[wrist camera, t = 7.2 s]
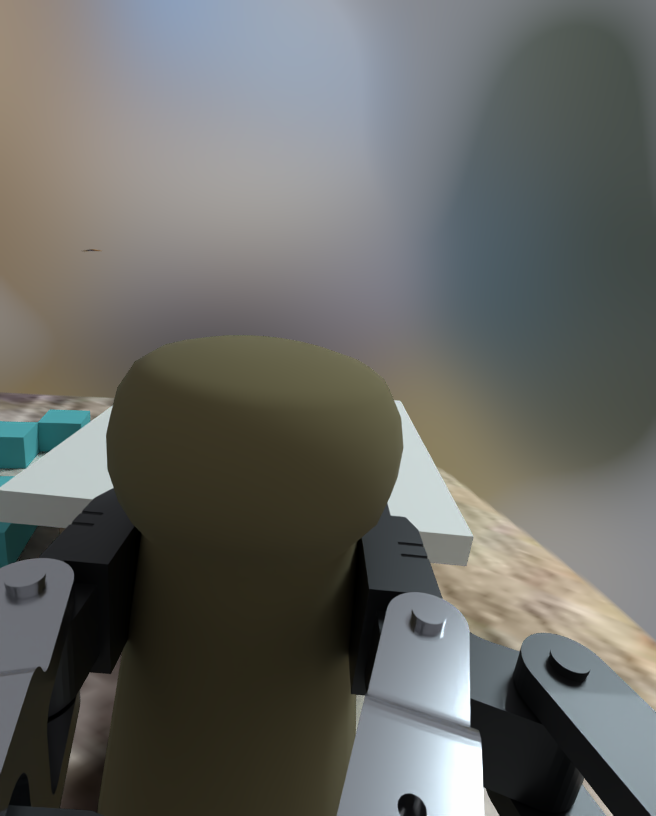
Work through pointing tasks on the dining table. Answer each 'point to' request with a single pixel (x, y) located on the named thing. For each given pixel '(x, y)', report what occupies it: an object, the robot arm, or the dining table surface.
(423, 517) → the peg shelf
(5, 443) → the alien figure
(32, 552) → the dining table surface
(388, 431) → the cork
